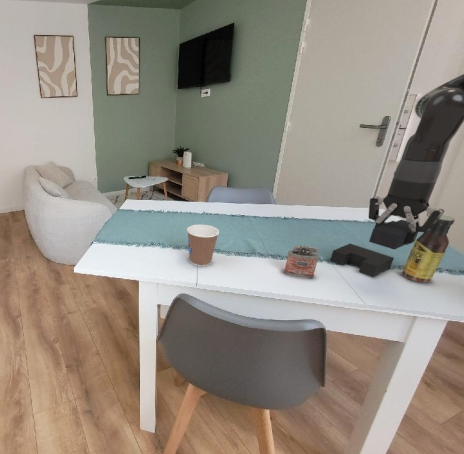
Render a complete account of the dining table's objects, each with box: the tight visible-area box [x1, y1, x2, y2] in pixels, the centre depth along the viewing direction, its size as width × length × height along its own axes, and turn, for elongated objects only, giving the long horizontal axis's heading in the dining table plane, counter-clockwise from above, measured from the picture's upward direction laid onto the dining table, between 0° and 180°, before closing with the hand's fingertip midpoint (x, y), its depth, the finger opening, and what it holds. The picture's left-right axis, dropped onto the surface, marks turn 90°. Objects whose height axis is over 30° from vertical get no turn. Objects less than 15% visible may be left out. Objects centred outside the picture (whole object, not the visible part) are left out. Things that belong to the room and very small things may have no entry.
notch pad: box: [329, 243, 395, 278], centre depth 94 cm, size 12×10×4 cm
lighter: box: [283, 244, 320, 280], centre depth 90 cm, size 8×3×10 cm, turn 65°
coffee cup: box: [186, 224, 220, 267], centre depth 100 cm, size 10×10×12 cm
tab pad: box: [368, 219, 410, 250], centre depth 78 cm, size 6×13×4 cm, turn 116°
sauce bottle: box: [402, 214, 456, 283], centre depth 83 cm, size 7×6×20 cm
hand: (391, 239), depth 78 cm, fingers closed on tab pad, 5 cm apart
